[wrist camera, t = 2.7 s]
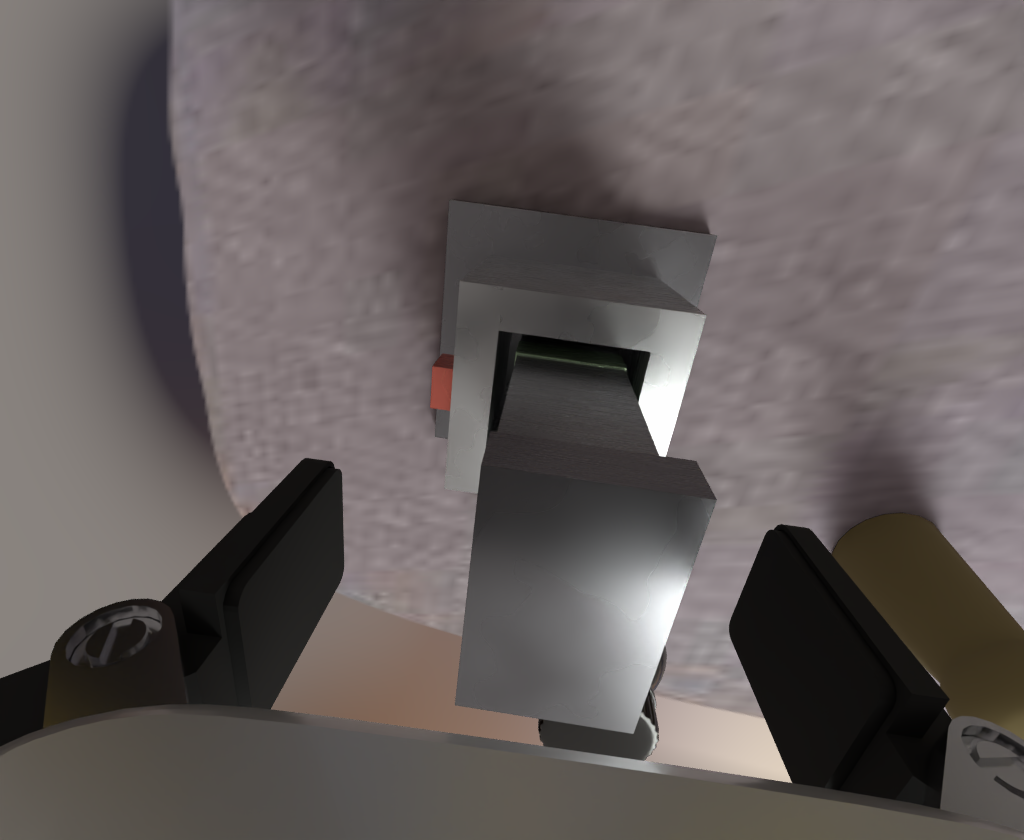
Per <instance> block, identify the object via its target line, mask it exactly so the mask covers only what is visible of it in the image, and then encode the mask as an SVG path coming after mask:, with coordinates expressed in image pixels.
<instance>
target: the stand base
mask: <svg viewBox="0 0 1024 840" xmlns="http://www.w3.org/2000/svg"><path fill="white" fill-rule="evenodd" d="M716 238H717V236H716V235H712V234H705V233H698V232H691V231H683V230H676V229H668V228H661V227H653V226H646V225H638V224H631V223H624V222H616V221H609V220H601V219H594V218H586V217H579V216H571V215H564V214H556V213H549V212H542V211H534V210H527V209H519V208H512V207H504V206H497V205H489V204H482V203H475V202H467V201H460V200H449V213H448V229H447V245H446V262H445V278H444V295H443V311H442V328H441V344H440V357H439V358H438V360H437V361H436V362H435V364H434V365H433V368H432V386H431V404H430V408H434V409H437V410H436V426H435V437H439V438H446V439H448V446H447V460H446V474H445V487H444V489H449V490H456V491H463V492H469V493H476V494H478V488H479V478H480V469H481V463H482V460H483V456H484V453H485V449H486V446H487V442H488V439H489V435H490V432H491V431H494V432H497V431H498V427H499V423H500V419H501V415H502V412H503V408H504V404H505V400H506V396H507V392H508V388H509V384H510V380H511V376H512V372H513V369H514V363H515V356H516V350H517V346H518V343H519V341H521V337H522V334H527V335H534V336H541V337H548V338H555V339H562V340H569V341H577V342H584V343H591V344H598V345H605V346H612V347H616V348H617V351H618V353H619V355H621V356H622V358H623V360H624V363H625V365H626V368H627V369H626V373H627V376H628V378H629V381H630V383H631V386H632V388H633V391H634V393H635V396H636V398H637V401H638V403H639V406H640V408H641V411H642V413H643V416H644V418H645V421H646V423H647V426H648V428H649V431H650V433H651V436H652V438H653V441H654V443H655V446H656V448H657V451H658V453H659V456H665V457H666V453H667V450H668V446H669V443H670V439H671V436H672V433H673V429H674V426H675V422H676V419H677V415H678V412H679V408H680V405H681V402H682V398H683V395H684V391H685V388H686V384H687V381H688V377H689V374H690V371H691V367H692V364H693V360H694V357H695V353H696V350H697V346H698V343H699V340H700V336H701V333H702V329H703V326H704V322H705V319H706V314H704V313H703V312H702V311H700V310H699V309H698V308H697V306H698V302H699V299H700V295H701V292H702V288H703V284H704V281H705V277H706V274H707V270H708V267H709V263H710V259H711V256H712V252H713V249H714V245H715V242H716Z"/></svg>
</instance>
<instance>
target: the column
mask: <svg viewBox="0 0 1024 840" xmlns="http://www.w3.org/2000/svg"><path fill="white" fill-rule="evenodd" d="M626 369H627V368H626V365H625V363H624V360H623V358H622V356H621V355H619V353H618V351H617V348H616V347H612V346H605V345H598V344H591V343H584V342H577V341H569V340H562V339H555V338H548V337H541V336H534V335H527V334H522V337H521V341H519V343H518V346H517V350H516V356H515V363H514V369H513V372H512V376H511V380H510V384H509V388H508V392H507V396H506V400H505V404H504V408H503V412H502V415H501V419H500V423H499V427H498V431H497V432H494V431H491V432H490V435H489V439H488V442H487V446H486V449H485V453H484V456H483V460H482V463H481V469H480V478H479V488H478V497H477V506H476V515H475V525H474V534H473V543H472V552H471V561H470V571H469V580H468V589H467V598H466V607H465V617H464V626H463V635H462V644H461V654H460V663H459V672H458V682H457V690H456V700H455V705H458V706H464V707H470V708H476V709H482V710H488V711H494V712H501V713H507V714H513V715H519V716H525V717H532V718H538V719H544V720H550V721H556V722H563V723H569V724H575V725H581V726H587V727H594V728H600V729H606V730H612V731H618V732H625V733H631V734H634V731H635V728H636V725H637V722H638V719H639V717H640V714H641V711H642V708H643V705H644V703H645V700H646V697H647V694H648V691H649V689H650V686H651V683H652V680H653V677H654V675H655V672H656V669H657V666H658V663H659V661H660V658H661V655H662V652H663V649H664V646H665V644H666V641H667V638H668V635H669V632H670V630H671V627H672V624H673V621H674V618H675V616H676V613H677V610H678V607H679V604H680V602H681V599H682V596H683V593H684V590H685V588H686V585H687V582H688V579H689V576H690V573H691V571H692V568H693V565H694V562H695V559H696V557H697V554H698V551H699V548H700V545H701V543H702V540H703V537H704V534H705V531H706V529H707V526H708V523H709V520H710V517H711V514H712V512H713V509H714V506H715V503H716V500H717V499H716V498H715V496H714V494H713V492H712V490H711V488H710V486H709V484H708V483H707V481H706V479H705V477H704V475H703V473H702V471H701V469H700V468H699V466H698V464H697V462H696V461H692V460H686V459H679V458H672V457H665V456H659V453H658V451H657V448H656V446H655V443H654V441H653V438H652V436H651V433H650V431H649V428H648V426H647V423H646V421H645V418H644V416H643V413H642V411H641V408H640V406H639V403H638V401H637V398H636V396H635V393H634V391H633V388H632V386H631V383H630V381H629V378H628V376H627V373H626Z"/></svg>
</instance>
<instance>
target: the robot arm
mask: <svg viewBox="0 0 1024 840" xmlns="http://www.w3.org/2000/svg"><path fill="white" fill-rule="evenodd" d="M343 571H344V539H343V496H342V472H341V470H340V469H335V467H334V464H333V463H332V462H331V461H324V460H317V459H310V458H305V459H303V460H302V461H301V462H300V463H299V464H298V465H297V466H296V467H295V468H294V469H293V470H292V471H291V472H290V473H289V474H288V475H287V476H286V477H285V478H284V479H283V481H282V482H281V483H280V484H279V485H278V486H277V487H276V488H275V489H274V490H273V491H272V492H271V493H270V494H269V495H268V496H267V497H266V498H265V499H264V500H263V501H262V502H261V503H260V504H259V505H258V506H257V507H256V509H255V510H254V511H253V512H251V513H248V514H247V515H246V516H245V517H243V518H242V519H241V521H239V522H238V523H237V524H236V525H235V527H234V528H233V529H232V530H231V531H230V532H229V533H228V534H227V535H226V536H225V537H224V538H223V539H222V540H221V541H220V542H219V543H218V544H217V545H216V546H215V547H214V548H213V549H212V550H211V551H210V552H209V553H208V554H207V555H206V556H205V557H204V558H203V559H202V561H200V562H199V563H198V564H197V565H196V567H194V569H193V570H192V571H191V572H190V573H189V574H188V575H187V576H186V577H185V578H184V579H183V580H182V581H181V582H180V583H179V584H178V585H177V586H176V587H175V588H174V589H173V590H172V591H171V592H170V593H169V594H168V595H167V596H166V597H165V598H164V599H163V600H162V601H157V600H153V599H131V600H126V601H121V602H116V603H113V604H110V605H108V606H105V607H102V608H100V609H97V610H95V611H93V612H92V613H90V614H88V615H87V616H84V617H83V618H81V619H79V620H78V621H77V622H76V623H74V624H73V625H72V626H71V627H69V628H68V629H67V630H66V631H65V632H64V633H63V634H62V635H61V637H60V638H59V639H58V640H57V642H56V643H55V645H54V648H53V651H52V653H51V658H50V660H49V661H46V662H44V663H41V664H38V665H35V666H33V667H30V668H27V669H24V670H22V671H19V672H16V673H14V674H11V675H8V676H6V677H3V678H0V840H1024V740H1023V739H1021V738H1020V737H1018V736H1017V735H1015V734H1013V733H1012V732H1010V731H1009V730H1006V729H1004V728H1002V727H1000V726H998V725H996V724H994V723H992V722H989V721H986V720H983V719H980V718H977V717H970V716H960V717H957V718H955V719H951V718H950V716H949V715H948V714H947V713H946V711H945V710H944V709H943V708H944V707H945V706H946V704H947V703H948V701H949V700H950V699H949V697H948V696H947V695H946V694H945V693H944V691H943V690H942V689H941V688H940V686H939V685H938V684H937V683H936V682H935V680H934V679H933V678H932V677H931V675H930V674H929V673H928V672H927V671H926V669H925V668H924V667H923V666H922V664H921V663H920V662H919V661H918V660H917V658H916V657H915V656H914V655H913V653H912V652H911V651H910V650H909V649H908V647H907V646H906V645H905V644H904V642H903V641H902V640H901V639H900V638H899V636H898V635H897V634H896V633H895V631H894V630H893V629H892V628H891V627H890V625H889V624H888V623H887V622H886V621H885V619H884V618H883V617H882V616H881V614H880V613H879V612H878V611H877V610H876V608H875V607H874V606H873V605H872V603H871V602H870V601H869V600H868V599H867V597H866V596H865V595H864V594H863V592H862V591H861V590H860V589H859V588H858V586H857V585H856V584H855V583H854V581H853V580H852V579H851V578H850V577H849V575H848V574H847V573H846V572H845V570H844V569H843V568H842V567H841V566H840V564H839V563H838V562H837V561H836V559H835V558H834V557H833V556H832V555H831V553H830V552H829V551H828V550H827V549H826V547H825V546H824V545H823V544H822V542H821V541H820V540H819V539H818V538H817V536H816V535H815V534H814V533H813V532H812V531H811V530H810V529H808V528H804V527H796V526H789V525H782V524H781V525H778V526H777V527H775V529H774V530H769V531H768V532H767V533H766V535H765V537H764V539H763V542H762V544H761V546H760V549H759V551H758V554H757V556H756V559H755V561H754V564H753V566H752V568H751V571H750V573H749V576H748V578H747V581H746V583H745V586H744V588H743V590H742V593H741V595H740V598H739V600H738V603H737V605H736V608H735V610H734V612H733V615H732V617H731V620H730V624H729V633H730V638H731V640H732V643H733V645H734V648H735V650H736V652H737V655H738V657H739V659H740V662H741V664H742V666H743V669H744V671H745V673H746V676H747V678H748V680H749V683H750V685H751V687H752V690H753V692H754V694H755V697H756V699H757V701H758V704H759V706H760V708H761V711H762V713H763V716H764V718H765V720H766V722H767V725H768V727H769V730H770V732H771V734H772V736H773V739H774V741H775V743H776V746H777V748H778V751H779V753H780V755H781V758H782V760H783V762H784V765H785V767H786V769H787V772H788V774H789V776H790V779H791V781H792V783H788V782H781V781H774V780H768V779H761V778H755V777H748V776H741V775H735V774H728V773H722V772H715V771H708V770H702V769H695V768H689V767H682V766H675V765H669V764H662V763H655V762H647V761H641V760H635V759H628V758H621V757H614V756H607V755H600V754H593V753H587V752H580V751H573V750H566V749H559V748H552V747H545V746H538V745H531V744H524V743H517V742H510V741H503V740H497V739H489V738H482V737H474V736H468V735H461V734H453V733H446V732H439V731H431V730H425V729H418V728H410V727H403V726H396V725H389V724H382V723H374V722H367V721H360V720H353V719H345V718H336V717H328V716H320V715H311V714H303V713H295V712H287V711H279V710H271V707H272V706H273V704H274V702H275V700H276V698H277V697H278V695H279V693H280V691H281V689H282V687H283V686H284V684H285V682H286V680H287V678H288V676H289V674H290V673H291V671H292V669H293V667H294V665H295V664H296V662H297V660H298V658H299V656H300V654H301V653H302V651H303V649H304V647H305V646H306V644H307V642H308V640H309V638H310V636H311V635H312V633H313V631H314V629H315V627H316V626H317V624H318V622H319V620H320V618H321V616H322V615H323V613H324V611H325V609H326V607H327V605H328V603H329V602H330V600H331V598H332V596H333V595H334V593H335V591H336V589H337V587H338V585H339V584H340V581H341V579H342V576H343Z"/></svg>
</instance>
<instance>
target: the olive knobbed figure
mask: <svg viewBox="0 0 1024 840" xmlns="http://www.w3.org/2000/svg"><path fill="white" fill-rule="evenodd" d="M832 556H833V557H834V558H835V559H836V561H837V562H838V563H839V564H840V566H841V567H842V568H843V569H844V570H845V572H846V573H847V574H848V575H849V577H850V578H851V579H852V580H853V581H854V583H855V584H856V585H857V586H858V588H859V589H860V590H861V591H862V592H863V594H864V595H865V596H866V597H867V599H868V600H869V601H870V602H871V603H872V605H873V606H874V607H875V608H876V610H877V611H878V612H879V613H880V614H881V616H882V617H883V618H884V619H885V621H886V622H887V623H888V624H889V625H890V627H891V628H892V629H893V630H894V631H895V633H896V634H897V635H898V636H899V638H900V639H901V640H902V641H903V642H904V644H905V645H906V646H907V647H908V649H909V650H910V651H911V652H912V653H913V655H914V656H915V657H916V658H917V660H918V661H919V662H920V663H921V664H922V666H923V667H924V668H925V669H926V670H927V671H928V672H929V673H930V674H931V675H932V676H933V677H934V678H935V679H936V680H937V681H938V682H939V683H940V688H941V689H942V690H943V691H944V693H945V694H946V695H947V696H948V697H949V699H950V700H949V701H948V703H947V704H946V706H945V707H946V709H947V712H948V714H949V716H950V717H951V718H952V719H955V718H957V717H960V716H970V717H977V718H980V719H983V720H986V721H989V722H992V723H994V724H996V725H998V726H1000V727H1002V728H1004V729H1006V730H1009V731H1010V732H1012V733H1013V734H1015V735H1017V736H1018V737H1020V738H1021V739H1023V740H1024V630H1023V629H1022V628H1021V626H1020V625H1019V624H1018V623H1017V622H1016V621H1015V619H1014V618H1013V617H1012V616H1011V615H1010V614H1009V612H1008V611H1007V610H1006V609H1005V608H1004V606H1003V605H1002V604H1001V603H1000V602H999V601H998V599H997V598H996V597H995V596H994V595H993V594H992V592H991V591H990V590H989V589H988V588H987V587H986V585H985V584H984V583H983V582H982V581H981V579H980V578H979V577H978V576H977V575H976V574H975V572H974V571H973V570H972V569H971V568H970V567H969V565H968V564H967V563H966V562H965V561H964V560H963V558H962V557H961V556H960V555H959V554H958V552H957V551H956V550H955V549H954V548H953V547H952V545H951V544H950V543H949V542H948V541H947V540H946V538H945V537H944V536H943V535H942V534H941V533H940V531H939V530H938V529H937V528H936V527H935V525H934V524H933V523H932V522H930V521H928V520H926V519H924V518H922V517H920V516H917V515H912V514H906V513H895V514H884V515H880V516H877V517H874V518H871V519H868V520H865V521H863V522H862V523H860V524H858V525H857V526H855V527H853V528H852V529H850V530H849V531H848V532H847V533H846V534H845V535H844V536H843V537H842V538H841V539H840V540H839V541H838V543H837V545H836V547H835V549H834V550H833V552H832Z"/></svg>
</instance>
